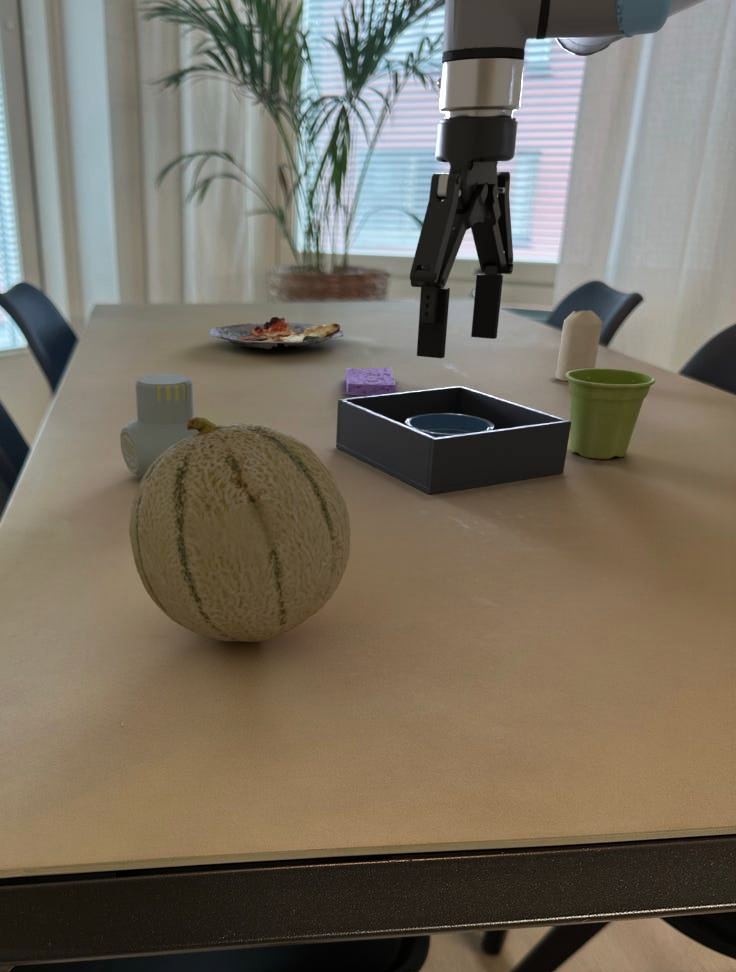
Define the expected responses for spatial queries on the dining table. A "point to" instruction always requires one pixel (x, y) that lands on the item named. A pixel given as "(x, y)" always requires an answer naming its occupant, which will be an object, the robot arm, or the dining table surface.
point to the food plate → (276, 333)
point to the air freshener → (157, 419)
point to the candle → (578, 342)
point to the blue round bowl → (448, 424)
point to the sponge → (370, 381)
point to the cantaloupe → (239, 532)
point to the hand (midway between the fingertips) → (458, 347)
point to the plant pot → (605, 409)
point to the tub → (452, 439)
